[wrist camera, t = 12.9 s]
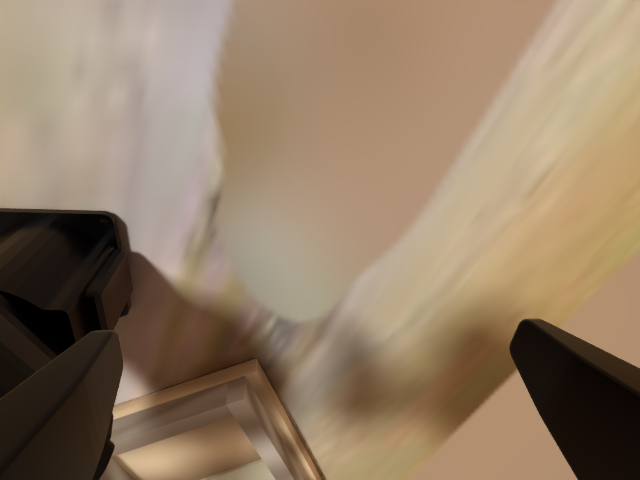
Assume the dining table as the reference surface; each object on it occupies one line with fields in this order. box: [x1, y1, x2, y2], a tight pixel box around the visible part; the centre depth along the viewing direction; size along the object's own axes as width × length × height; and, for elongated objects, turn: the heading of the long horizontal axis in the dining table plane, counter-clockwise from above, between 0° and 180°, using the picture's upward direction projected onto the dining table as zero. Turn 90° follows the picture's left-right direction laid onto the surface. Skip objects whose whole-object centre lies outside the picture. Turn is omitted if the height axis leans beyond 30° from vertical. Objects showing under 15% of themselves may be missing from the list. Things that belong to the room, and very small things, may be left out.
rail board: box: [101, 358, 322, 480], centre depth 28 cm, size 17×14×3 cm
